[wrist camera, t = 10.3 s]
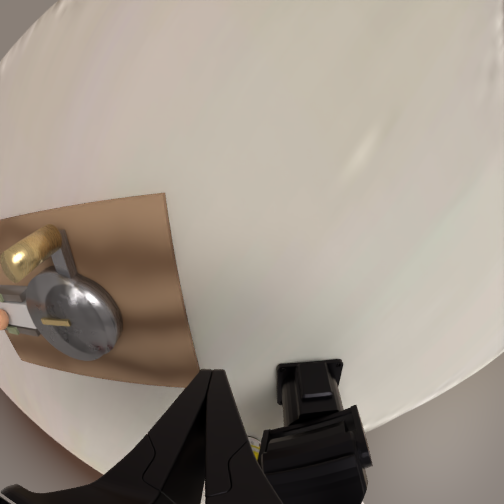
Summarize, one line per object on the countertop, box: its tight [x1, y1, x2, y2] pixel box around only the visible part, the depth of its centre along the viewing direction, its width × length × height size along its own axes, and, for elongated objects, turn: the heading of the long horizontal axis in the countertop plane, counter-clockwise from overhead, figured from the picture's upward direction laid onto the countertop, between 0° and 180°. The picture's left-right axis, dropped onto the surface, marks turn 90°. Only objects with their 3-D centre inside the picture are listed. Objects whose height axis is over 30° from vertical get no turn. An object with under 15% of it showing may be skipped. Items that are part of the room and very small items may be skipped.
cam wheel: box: [0, 224, 123, 361], centre depth 20 cm, size 12×12×7 cm
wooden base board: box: [0, 193, 200, 388], centre depth 23 cm, size 20×28×3 cm
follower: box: [0, 299, 37, 330], centre depth 22 cm, size 3×8×4 cm, turn 93°
